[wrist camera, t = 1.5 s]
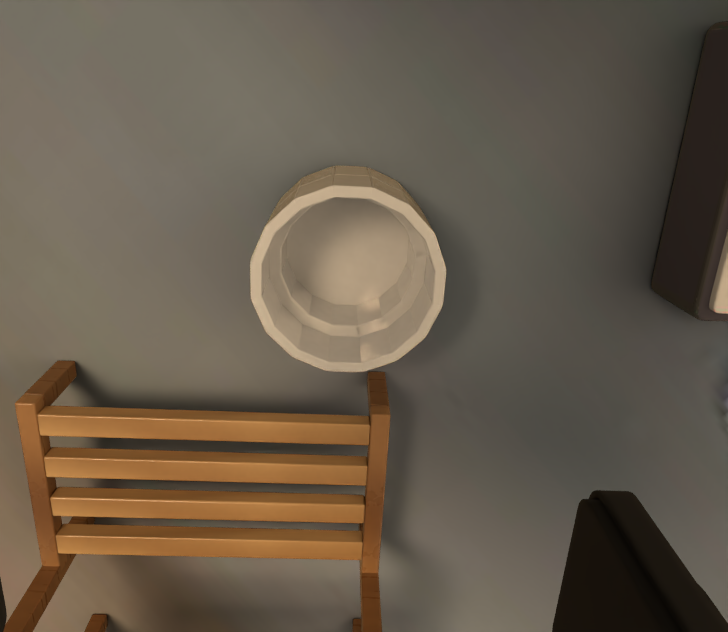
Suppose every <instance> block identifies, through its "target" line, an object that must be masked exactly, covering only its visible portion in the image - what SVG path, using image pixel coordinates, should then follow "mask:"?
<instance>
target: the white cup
mask: <svg viewBox="0 0 728 632" xmlns="http://www.w3.org/2000/svg"><path fill="white" fill-rule="evenodd" d="M445 281H446V266H445V263H444V260H443V257H442V253H441V250H440V247H439V244H438V241H437V238H436V235H435V233H434V231H433V230H432V228H431V226H430V224H429V222H428V221H427V219H426V217H425V216H424V214H423V212H422V210H421V208H420V207H419V205H418V204H417V203H416V201H415V200H414V199H413V198H412V197H411V196H410V195H409V193H408V192H407V191H406V190H405V189H404V188H403V187H402V185H401V184H400V183H399V182H397V181H396V180H394V179H392V178H390V177H388V176H386V175H384V174H382V173H379V172H377V171H375V170H373V169H371V168H367V167H358V166H338V165H336V166H335V167H334V166H332V167H329V168H326V169H323V170H321V171H318V172H315V173H312V174H310V175H307V176H305V177H303V178H301V179H300V180H299V181H298V182H297V183H296V184H295V185H294V186H293V187H292V188H291V189H290V190H289V191H288V192H287V193H286V194H284V195H283V196H282V197H281V198H280V200H279V201H278V203H277V205H276V207H275V209H274V211H273V213H272V214H271V216H270V218H269V220H268V222H267V224H266V225H265V227H264V230H263V232H262V234H261V237H260V239H259V241H258V244H257V246H256V248H255V251H254V253H253V255H252V258H251V261H250V297H251V301H252V303H253V305H254V307H255V310H256V312H257V314H258V316H259V318H260V321H261V323H262V325H263V327H264V330H265V331H266V333H267V334H268V335H269V336H270V337H271V338H273V339H274V340H275V341H276V342H277V343H278V344H279V345H280V346H281V347H282V348H283V349H284V350H285V351H286V352H287V353H288V354H289V355H290V356H292V357H293V358H295V359H298V360H300V361H303V362H305V363H308V364H310V365H312V366H315V367H317V368H320V369H322V370H325V371H338V372H365V371H368V370H371V369H374V368H377V367H380V366H383V365H386V364H389V363H392V362H395V361H397V360H399V359H400V358H401V357H402V356H404V355H405V354H406V353H407V352H409V351H410V350H411V349H412V348H413V347H415V346H416V345H417V344H418V343H420V342H421V341H422V340H423V339H424V338H425V337H426V336H427V334H428V332H429V330H430V328H431V327H432V325H433V323H434V321H435V319H436V318H437V316H438V314H439V312H440V310H441V308H442V306H443V300H444V290H445Z"/></svg>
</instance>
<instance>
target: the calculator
mask: <svg viewBox="0 0 728 632" xmlns="http://www.w3.org/2000/svg"><path fill="white" fill-rule="evenodd" d="M651 287H652V289H653V291H654V292H655V293H657V294H658V295H660V296H662V297H663V298H665V299H666V300H668V301H669V302H671V303H673V304H674V305H676V306H677V307H679V308H681V309H682V310H684V311H685V312H687V313H688V314H690V315H692V316H693V317H695V318H697V319H699V320H704V321H728V21H726V22H719V23H716V24H714V25H712V26H711V27H710V28H709V30H708V32H707V34H706V38H705V42H704V46H703V51H702V55H701V60H700V64H699V69H698V74H697V78H696V83H695V87H694V92H693V96H692V101H691V105H690V110H689V114H688V119H687V123H686V128H685V133H684V137H683V142H682V146H681V151H680V155H679V160H678V164H677V169H676V173H675V178H674V182H673V187H672V192H671V196H670V201H669V205H668V210H667V214H666V219H665V223H664V228H663V232H662V237H661V241H660V246H659V251H658V255H657V260H656V264H655V269H654V273H653V278H652V284H651Z"/></svg>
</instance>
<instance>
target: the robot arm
mask: <svg viewBox="0 0 728 632" xmlns="http://www.w3.org/2000/svg"><path fill="white" fill-rule="evenodd" d="M6 616H7V615H6V607H5V601H4V595H3V590H2V584H1V579H0V632H3V631H4V628H5V624H6ZM552 632H728V623H727V622H726V620H725V619H724V618H723V616H722V615H721V613H720V612H719V611H718V609H717V608H716V606H715V605H714V603H713V602H712V601H711V599H710V598H709V596H708V595H707V594H706V592H705V591H704V590H703V589H702V588H701V587H700V586H699V585H698V584H697V583H696V581H695V580H694V578H693V577H692V575H691V574H690V573H689V571H688V570H687V568H686V567H685V565H684V564H683V563H682V561H681V560H680V558H679V557H678V556H677V554H676V553H675V551H674V550H673V548H672V547H671V546H670V544H669V543H668V541H667V540H666V538H665V537H664V536H663V534H662V533H661V531H660V530H659V528H658V527H657V526H656V524H655V523H654V521H653V520H652V519H651V517H650V516H649V514H648V513H647V511H646V510H645V509H644V507H643V506H642V504H641V503H640V501H639V500H638V499H637V497H636V496H635V495H634V494H633V493H631V492H629V491H601V490H596V491H593V492H592V493H591V495H590V497H589V499H583V500H581V501H580V503H579V506H578V510H577V514H576V519H575V524H574V528H573V533H572V538H571V543H570V547H569V552H568V557H567V561H566V566H565V571H564V576H563V580H562V585H561V590H560V594H559V599H558V604H557V609H556V613H555V618H554V623H553V629H552Z"/></svg>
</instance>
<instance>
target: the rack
mask: <svg viewBox="0 0 728 632" xmlns="http://www.w3.org/2000/svg"><path fill="white" fill-rule="evenodd" d="M76 376H77V375H76V367H75V361H57V362H56V363H55V364H54V365H53V366H52V367H51V368H50V369H49V370H48V371H47V372H46V373H45V374H44V375H43V376H42V377H41V378H40V379H39V380H38V381H37V382H36V383H35V384H34V385H33V386H32V387H31V388H30V389H28V390H27V391H26V392H25V394H24V395H23V396H22V397H21V398H20V399H19V400H18V401H17V402H16V403H15V407H16V413H17V419H18V425H19V431H20V437H21V443H22V449H23V455H24V460H25V466H26V472H27V478H28V484H29V490H30V496H31V502H32V508H33V514H34V520H35V526H36V532H37V538H38V543H39V549H40V555H41V561H42V567H41V569H40V570H39V572H38V573H37V575H36V577H35V578H34V580H33V581H32V583H31V585H30V586H29V588H28V589H27V591H26V593H25V594H24V596H23V598H22V599H21V601H20V602H19V604H18V606H17V607H16V609H15V610H14V612H13V614H12V615H11V617H10V618H9V620H8V622H7V623H6V625H5V628H4V631H3V632H33V630H34V628H35V626H36V625H37V623H38V621H39V619H40V618H41V616H42V614H43V612H44V610H45V609H46V607H47V605H48V603H49V602H50V600H51V598H52V596H53V595H54V593H55V591H56V589H57V587H58V586H59V584H60V582H61V580H62V579H63V577H64V575H65V573H66V572H67V570H68V568H69V566H70V564H71V563H72V561H73V559H74V557H75V556H76V554H109V555H155V556H201V557H247V558H293V559H339V560H360V595H361V619H353V627H352V632H382V621H381V606H380V591H379V575H378V571H379V558H380V545H381V532H382V519H383V506H384V493H385V481H386V468H387V455H388V442H389V429H390V408H389V400H388V392H387V385H386V377H385V372H368V379H367V392H368V406H369V416H355V415H324V414H292V413H261V412H230V411H198V410H167V409H136V408H105V407H73V406H50V405H51V404H52V403H53V402H54V401H55V400H56V399H57V398H58V397H59V395H60V394H61V393H62V392H63V391H64V390H65V389H66V388H67V386H68V385H69V384H70V383H71V382H72V381H73V380H74V379H75V378H76ZM49 436H73V437H106V438H140V439H173V440H207V441H240V442H274V443H307V444H341V445H368V453H367V457H366V456H338V455H304V454H270V453H235V452H201V451H166V450H132V449H98V448H63V447H52V448H51V447H50V440H49ZM55 477H66V478H103V479H140V480H177V481H215V482H252V483H289V484H326V485H363V486H365V497H364V495H349V494H311V493H273V492H235V491H197V490H159V489H121V488H83V487H58V488H57V487H56V480H55ZM61 516H73V517H72V519H71V520H70V522H69V523H68V524H63V525H62V520H61ZM95 517H120V518H162V519H203V520H244V521H285V522H326V523H359V531H346V530H304V529H262V528H220V527H177V526H135V525H93V524H94V522H95ZM107 626H108V623H107V615H103V614H93V615H92V617H91V619H90V621H89V623H88V625H87V627H86V629H85V631H84V632H105V630H106V628H107Z"/></svg>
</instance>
